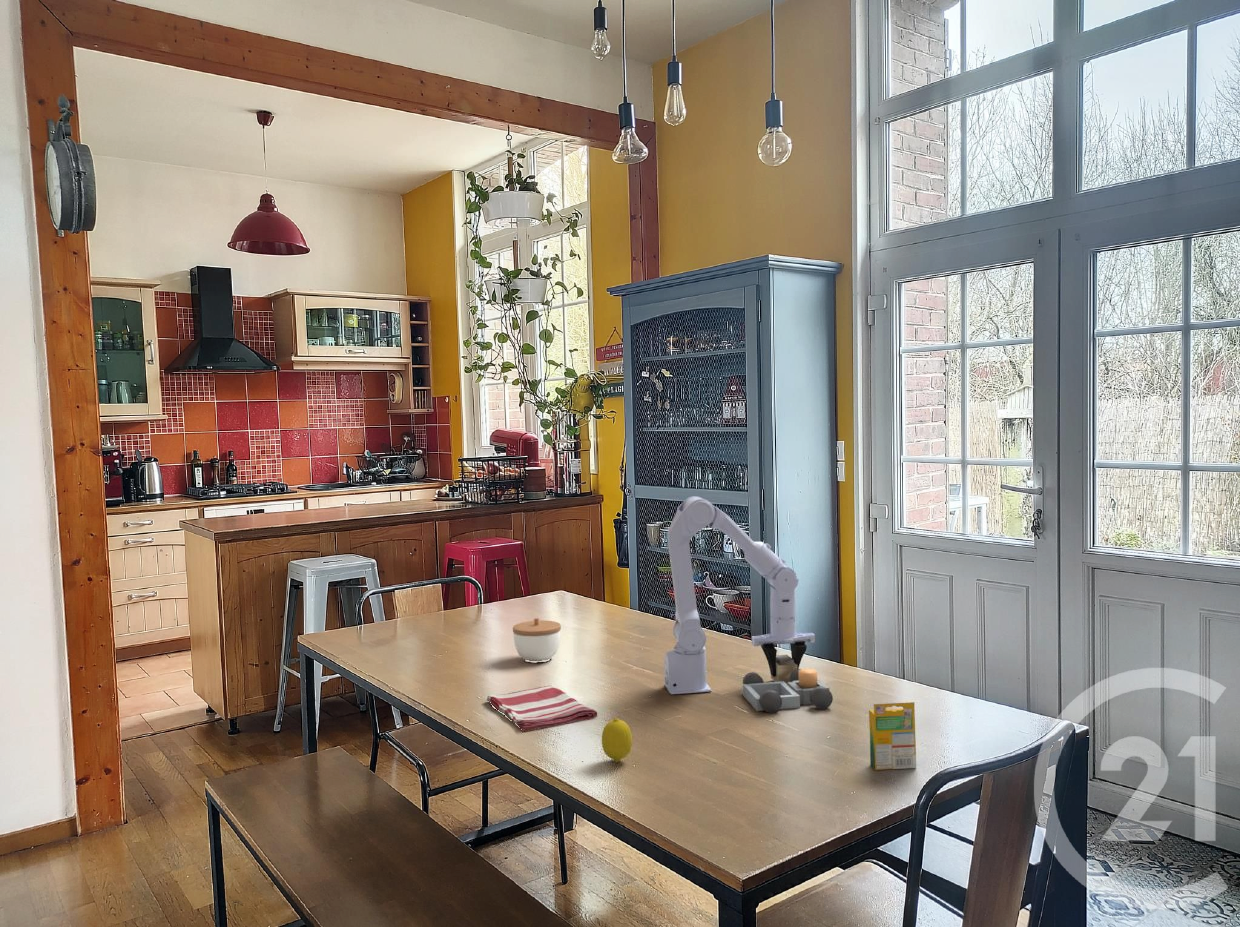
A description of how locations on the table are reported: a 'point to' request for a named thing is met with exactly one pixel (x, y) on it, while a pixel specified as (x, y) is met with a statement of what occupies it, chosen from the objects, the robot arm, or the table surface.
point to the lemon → (616, 739)
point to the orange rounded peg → (807, 678)
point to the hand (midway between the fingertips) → (784, 674)
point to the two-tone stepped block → (784, 668)
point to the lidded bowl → (537, 639)
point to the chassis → (784, 693)
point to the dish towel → (540, 707)
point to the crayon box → (892, 736)
